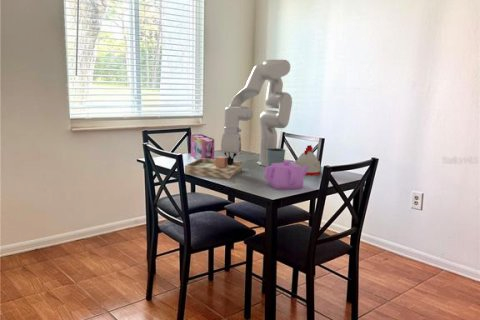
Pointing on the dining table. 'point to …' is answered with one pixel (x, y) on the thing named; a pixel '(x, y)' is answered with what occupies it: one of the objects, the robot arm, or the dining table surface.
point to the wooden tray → (212, 168)
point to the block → (221, 161)
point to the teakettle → (285, 175)
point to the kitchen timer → (309, 161)
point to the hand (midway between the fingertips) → (230, 164)
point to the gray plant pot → (275, 155)
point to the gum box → (202, 147)
